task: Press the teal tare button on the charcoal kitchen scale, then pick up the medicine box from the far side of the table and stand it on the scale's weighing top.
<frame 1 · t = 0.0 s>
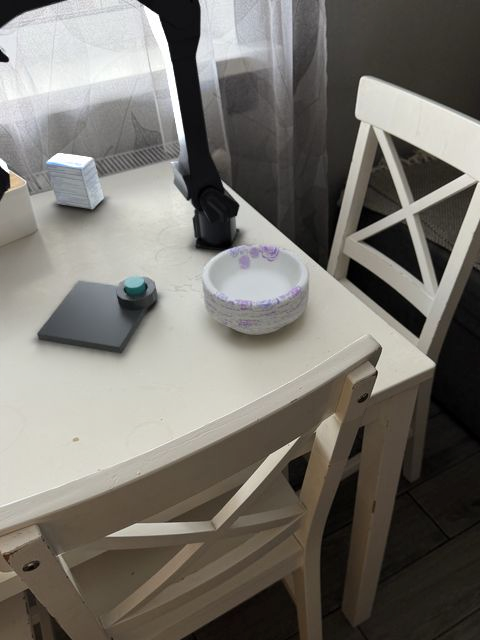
medicine box: (81, 203, 115), on the table
paper bowls: (257, 315, 89), on the table
tare button: (135, 285, 90), point 3 cm above the table, slide at 0.1 cm
scale: (99, 317, 90), on the table
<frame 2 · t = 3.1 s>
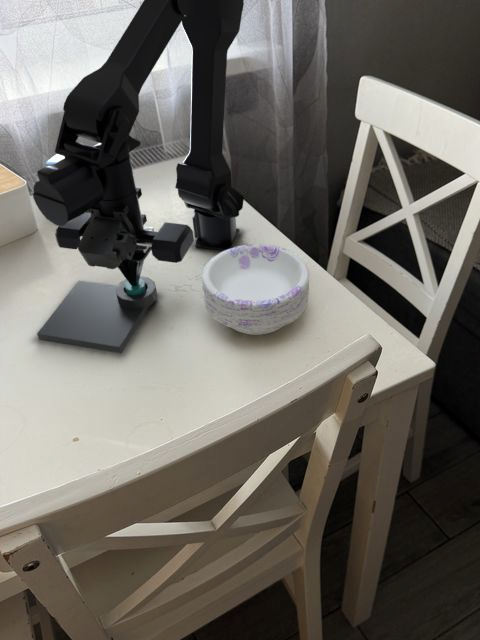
hand: (135, 284, 89), 4 cm above the table, tool pointing down, fingers closed, pressing on tare button
tare button: (135, 288, 90), point 3 cm above the table, slide at -0.4 cm, touching gripper
everything else where it was.
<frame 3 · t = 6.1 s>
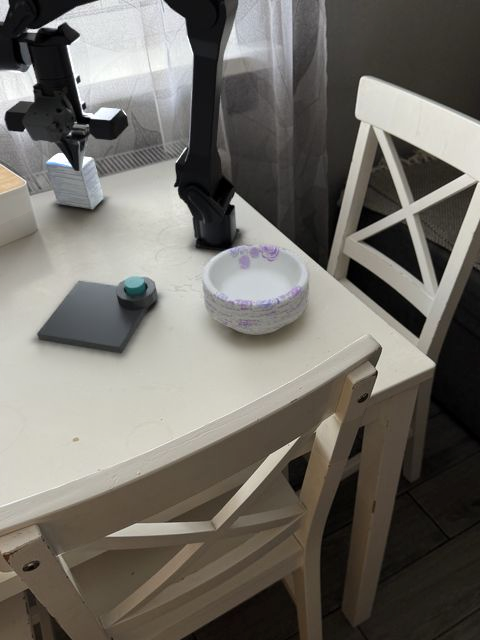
hand: (78, 170, 100), 11 cm above the table, tool pointing down, fingers closed
tare button: (135, 285, 90), point 3 cm above the table, slide at 0.1 cm
everything else where it was.
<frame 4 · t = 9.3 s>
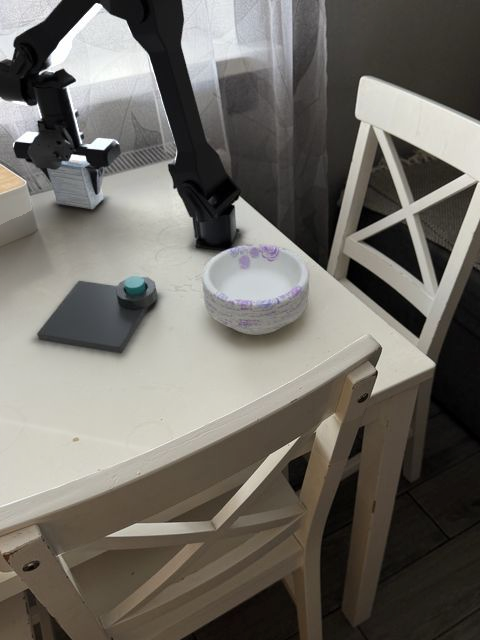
hand: (78, 191, 114), 2 cm above the table, tool pointing down, fingers closed on medicine box, 8 cm apart
medicine box: (81, 202, 115), on the table, touching gripper
everything else where it was.
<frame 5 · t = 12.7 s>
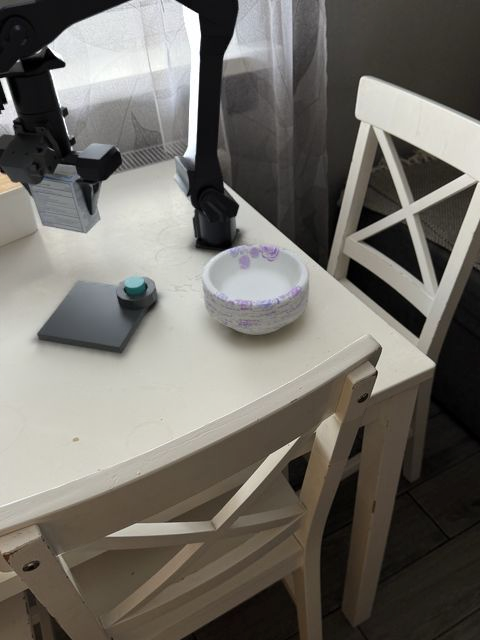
hand: (68, 210, 89), 12 cm above the table, tool pointing down, fingers closed on medicine box, 8 cm apart
medicine box: (72, 224, 91), point 10 cm above the table, touching gripper
everything else where it was.
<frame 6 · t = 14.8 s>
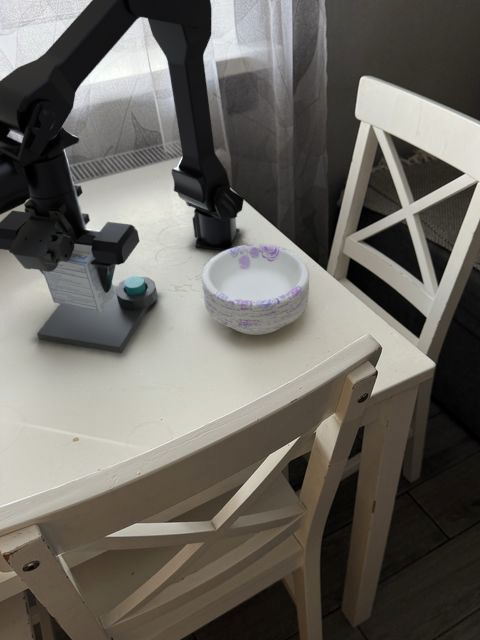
hand: (81, 287, 85), 6 cm above the table, tool pointing down, fingers closed on medicine box, 8 cm apart
medicine box: (85, 300, 87), point 4 cm above the table, touching gripper
everything else where it was.
when the fingers open (3 cm above the table, at t = 16.3 s): medicine box stays where it is, resting on scale.
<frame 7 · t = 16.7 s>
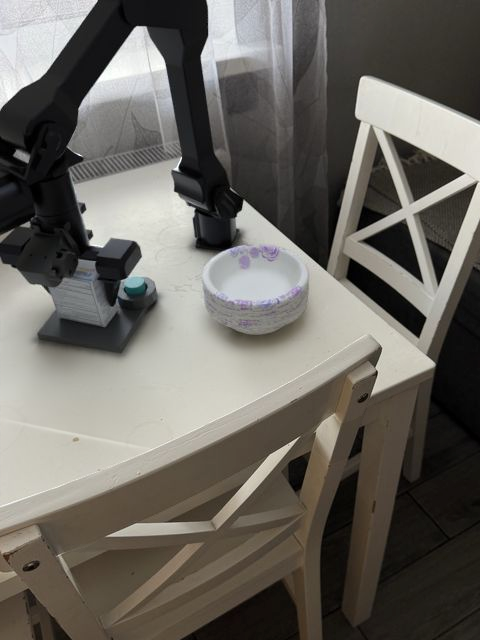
hand: (84, 300, 86), 4 cm above the table, tool pointing down, fingers open, 9 cm apart
medicine box: (89, 315, 89), point 1 cm above the table, touching scale
everything else where it was.
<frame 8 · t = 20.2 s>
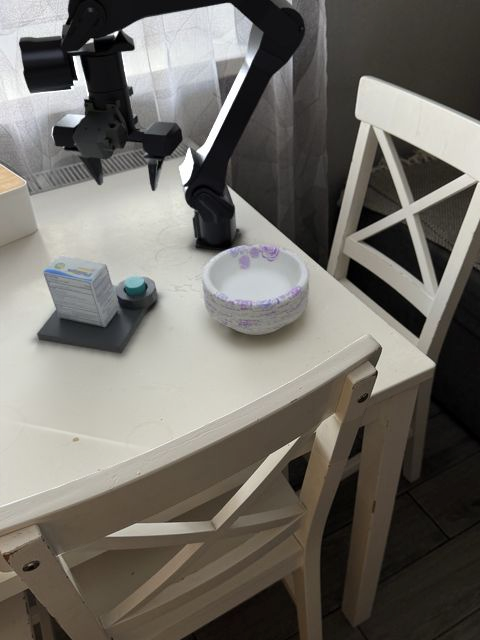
hand: (127, 187, 94), 12 cm above the table, tool pointing down, fingers open, 9 cm apart
nothing on the table moved.
at the end: tare button pushed in 1.2 cm at the most during the clip, back to where it started at the end; medicine box inside the target area on the scale (0.4 cm from its centre), point 1.0 cm above the scale's base; medicine box tilted 0° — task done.
